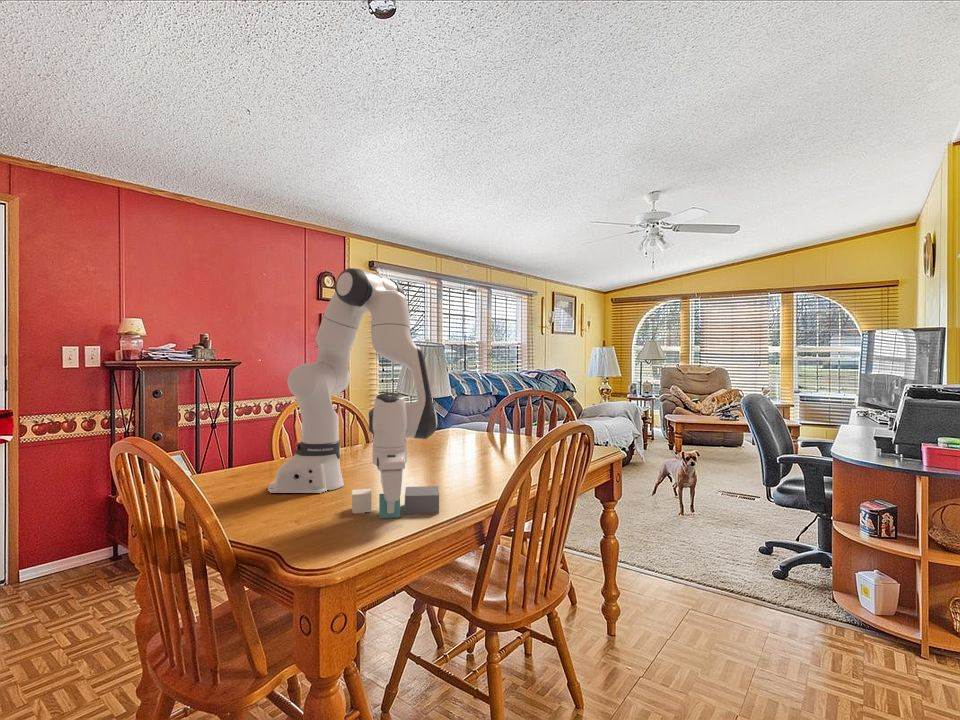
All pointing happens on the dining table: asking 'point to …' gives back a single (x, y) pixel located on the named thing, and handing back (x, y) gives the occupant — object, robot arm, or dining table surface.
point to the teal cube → (383, 508)
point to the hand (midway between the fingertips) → (389, 508)
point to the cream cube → (361, 500)
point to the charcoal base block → (422, 500)
